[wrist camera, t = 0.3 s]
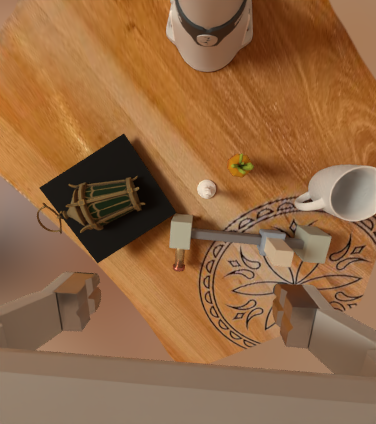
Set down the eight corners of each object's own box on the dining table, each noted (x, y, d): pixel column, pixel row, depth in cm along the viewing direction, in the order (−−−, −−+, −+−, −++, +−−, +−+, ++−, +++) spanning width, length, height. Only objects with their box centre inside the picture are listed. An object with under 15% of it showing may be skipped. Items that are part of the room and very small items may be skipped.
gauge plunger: (176, 232, 57) (174, 236, 53) (187, 233, 56) (186, 237, 53) (173, 264, 59) (172, 270, 56) (185, 265, 59) (184, 272, 56)
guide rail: (174, 213, 58) (171, 221, 51) (316, 226, 56) (331, 236, 49) (173, 239, 60) (169, 249, 53) (309, 252, 58) (323, 265, 51)
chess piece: (218, 194, 55) (221, 203, 46) (200, 200, 56) (200, 210, 47) (212, 176, 54) (214, 181, 45) (194, 183, 55) (193, 189, 46)
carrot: (219, 167, 54) (225, 171, 39) (230, 149, 52) (241, 147, 38) (235, 177, 54) (247, 185, 40) (247, 160, 53) (263, 162, 38)
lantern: (175, 211, 62) (86, 269, 60) (131, 143, 60) (37, 200, 58) (177, 213, 48) (63, 288, 46) (120, 125, 46) (-2, 199, 44)
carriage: (260, 227, 54) (274, 244, 43) (280, 228, 53) (298, 246, 43) (256, 248, 55) (268, 270, 45) (275, 250, 55) (292, 272, 45)
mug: (293, 219, 56) (319, 237, 43) (278, 181, 54) (301, 190, 41) (351, 195, 53) (397, 207, 41) (338, 154, 51) (382, 154, 38)
